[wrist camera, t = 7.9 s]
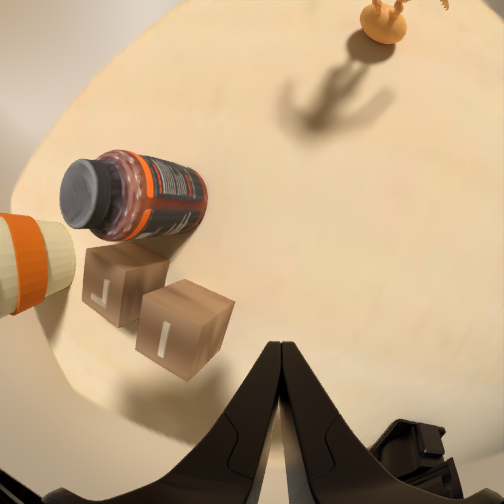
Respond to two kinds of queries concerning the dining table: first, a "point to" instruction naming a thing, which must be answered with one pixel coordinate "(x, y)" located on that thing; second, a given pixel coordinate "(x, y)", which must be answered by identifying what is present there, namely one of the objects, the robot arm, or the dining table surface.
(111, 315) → the block seven
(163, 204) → the supplement bottle
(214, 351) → the block one
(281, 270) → the dining table surface
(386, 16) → the figurine
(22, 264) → the reusable coffee cup
